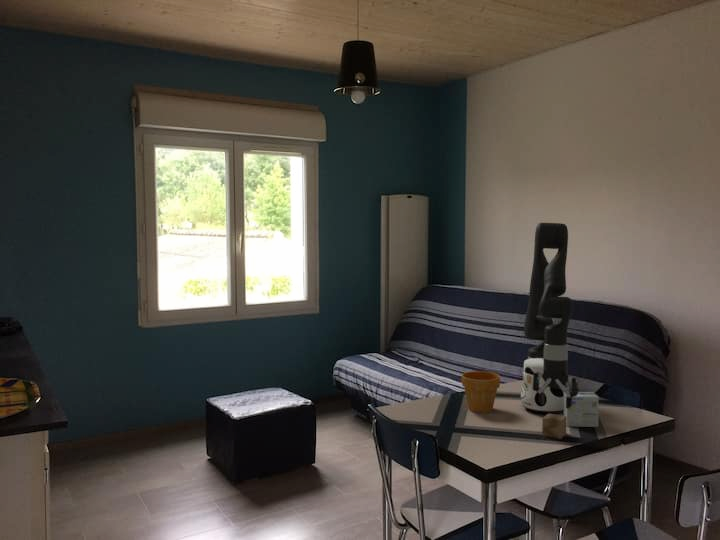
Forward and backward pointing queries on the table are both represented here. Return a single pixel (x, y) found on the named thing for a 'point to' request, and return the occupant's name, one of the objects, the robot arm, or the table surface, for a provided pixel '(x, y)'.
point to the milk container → (551, 395)
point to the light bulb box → (582, 410)
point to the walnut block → (554, 426)
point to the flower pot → (480, 390)
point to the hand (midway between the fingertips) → (555, 406)
